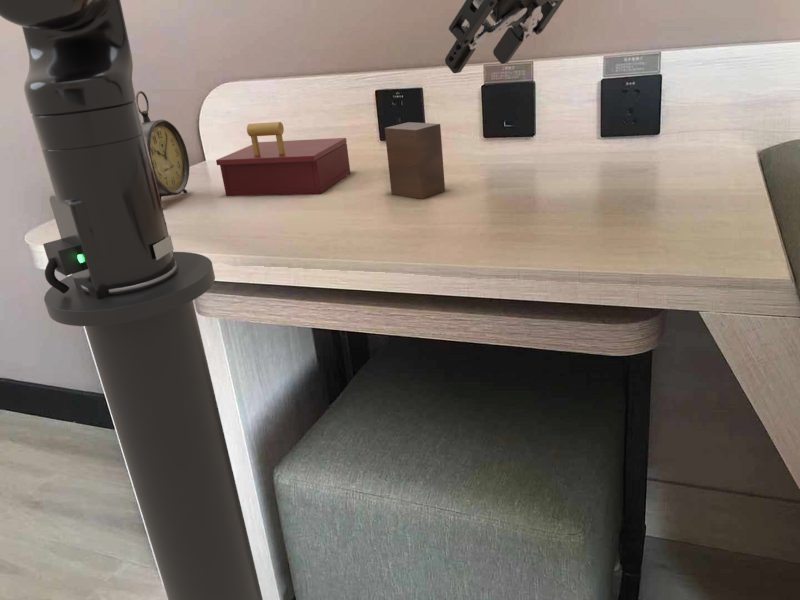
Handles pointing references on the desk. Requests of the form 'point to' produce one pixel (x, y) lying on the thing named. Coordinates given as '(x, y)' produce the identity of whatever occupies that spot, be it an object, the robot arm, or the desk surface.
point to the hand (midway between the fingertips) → (475, 63)
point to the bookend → (415, 159)
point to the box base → (287, 176)
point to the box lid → (279, 147)
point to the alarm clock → (166, 154)
